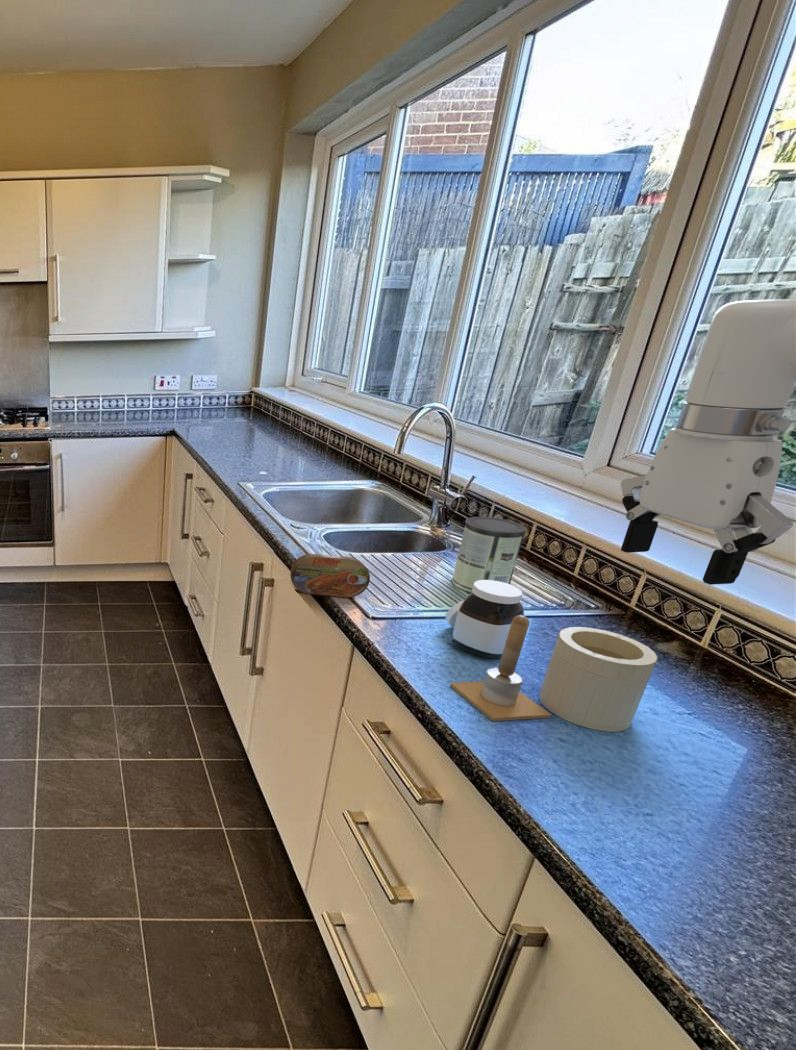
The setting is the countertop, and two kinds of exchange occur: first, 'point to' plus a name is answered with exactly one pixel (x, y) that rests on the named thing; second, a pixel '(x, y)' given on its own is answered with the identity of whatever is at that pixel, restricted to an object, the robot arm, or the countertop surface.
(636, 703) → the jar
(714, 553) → the robot arm
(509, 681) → the round handled stamp
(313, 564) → the tin
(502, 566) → the coffee can
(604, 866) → the countertop surface
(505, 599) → the spread jar
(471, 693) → the mat
